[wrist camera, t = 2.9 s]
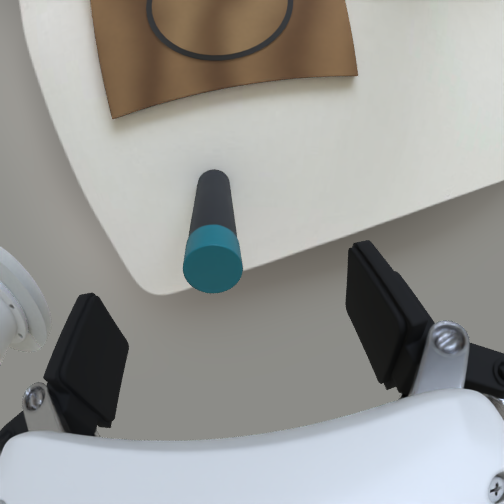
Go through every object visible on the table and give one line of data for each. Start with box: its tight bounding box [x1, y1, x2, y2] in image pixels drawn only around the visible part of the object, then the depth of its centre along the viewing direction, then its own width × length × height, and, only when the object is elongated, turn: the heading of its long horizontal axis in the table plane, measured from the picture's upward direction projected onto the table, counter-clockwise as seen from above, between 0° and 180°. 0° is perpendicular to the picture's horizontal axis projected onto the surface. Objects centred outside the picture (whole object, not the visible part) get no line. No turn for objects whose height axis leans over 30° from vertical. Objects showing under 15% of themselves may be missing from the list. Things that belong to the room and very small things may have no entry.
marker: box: [183, 170, 243, 293], centre depth 16 cm, size 2×2×11 cm
